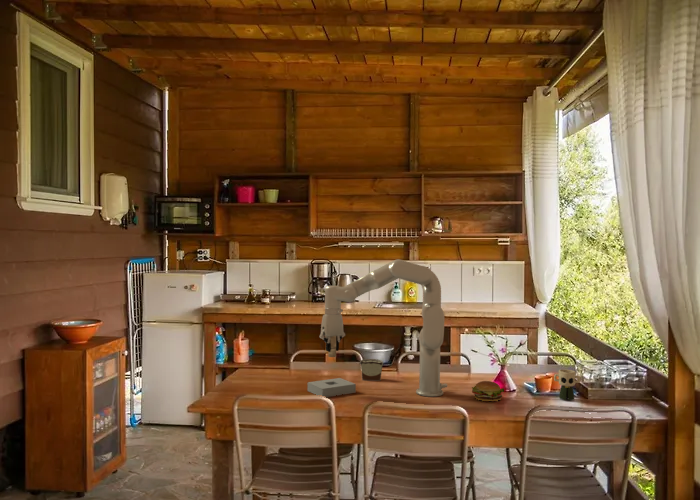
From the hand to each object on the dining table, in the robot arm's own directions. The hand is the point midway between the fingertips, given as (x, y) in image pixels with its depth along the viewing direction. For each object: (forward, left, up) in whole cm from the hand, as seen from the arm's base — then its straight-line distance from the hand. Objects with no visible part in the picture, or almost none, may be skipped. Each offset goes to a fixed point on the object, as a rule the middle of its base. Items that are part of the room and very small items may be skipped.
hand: (332, 350), depth 258 cm
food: (-54, +47, -20) cm, 74 cm away
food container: (-31, -11, -20) cm, 38 cm away
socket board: (0, 0, -19) cm, 19 cm away
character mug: (-85, +66, -20) cm, 109 cm away
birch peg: (0, 0, -3) cm, 3 cm away
